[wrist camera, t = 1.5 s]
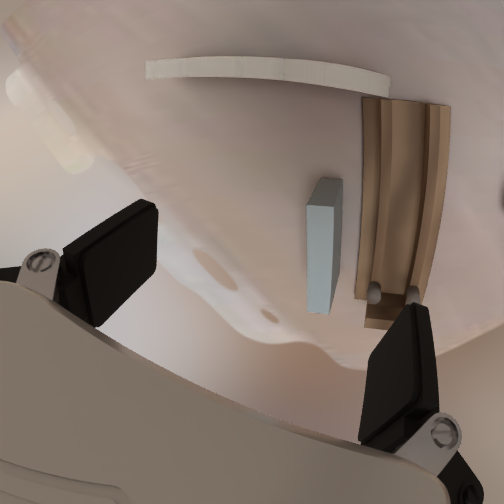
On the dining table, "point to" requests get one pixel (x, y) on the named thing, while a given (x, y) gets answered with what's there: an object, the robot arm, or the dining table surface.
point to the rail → (400, 203)
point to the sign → (272, 71)
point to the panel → (323, 244)
